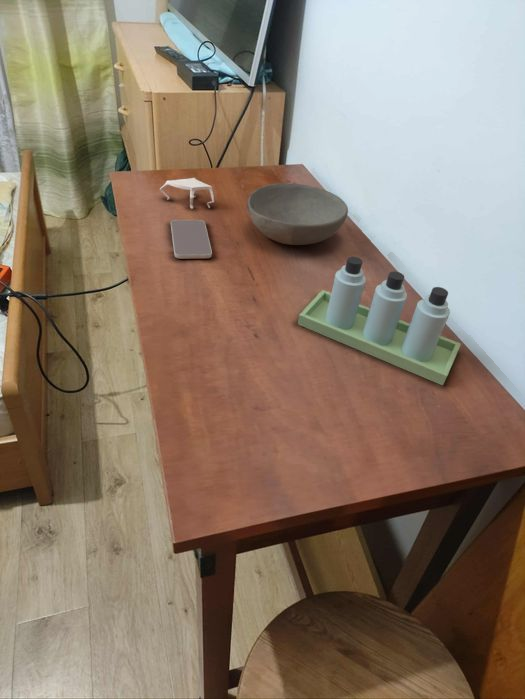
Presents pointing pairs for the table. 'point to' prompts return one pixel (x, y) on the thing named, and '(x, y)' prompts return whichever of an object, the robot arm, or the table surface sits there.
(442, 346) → the tray
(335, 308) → the row bottle back
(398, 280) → the row bottle middle
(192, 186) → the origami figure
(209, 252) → the smartphone
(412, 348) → the loose bottle
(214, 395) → the table surface
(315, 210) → the bowl
